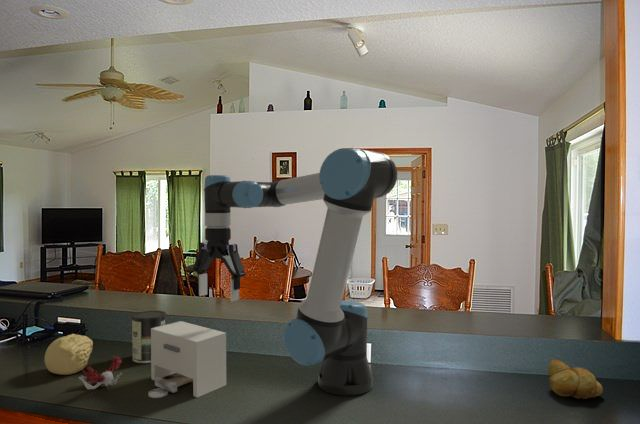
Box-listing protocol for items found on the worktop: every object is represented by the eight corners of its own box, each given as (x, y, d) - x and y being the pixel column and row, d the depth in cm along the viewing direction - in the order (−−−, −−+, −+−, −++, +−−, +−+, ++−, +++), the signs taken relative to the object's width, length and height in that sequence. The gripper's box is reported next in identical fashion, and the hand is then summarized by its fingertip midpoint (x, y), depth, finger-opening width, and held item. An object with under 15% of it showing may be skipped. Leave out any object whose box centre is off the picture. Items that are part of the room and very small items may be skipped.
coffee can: (172, 353, 154) (172, 311, 154) (155, 364, 144) (154, 319, 144) (144, 351, 156) (143, 309, 156) (125, 362, 146) (124, 317, 146)
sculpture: (73, 380, 132) (73, 342, 132) (35, 377, 134) (35, 339, 134) (99, 365, 143) (98, 330, 143) (63, 363, 145) (63, 328, 145)
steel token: (168, 390, 126) (168, 386, 126) (168, 398, 121) (168, 394, 121) (148, 392, 124) (148, 389, 124) (148, 400, 120) (148, 396, 120)
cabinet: (226, 385, 129) (226, 332, 128) (194, 398, 120) (194, 342, 120) (180, 368, 141) (180, 320, 140) (148, 380, 132) (148, 329, 131)
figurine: (96, 374, 136) (96, 352, 136) (134, 376, 135) (134, 353, 135) (62, 396, 121) (62, 371, 121) (105, 399, 120) (105, 373, 120)
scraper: (225, 373, 137) (226, 339, 137) (173, 392, 122) (173, 354, 122) (207, 367, 142) (208, 334, 142) (154, 385, 127) (155, 348, 127)
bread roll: (600, 391, 126) (600, 362, 125) (607, 406, 117) (607, 374, 116) (546, 384, 130) (547, 355, 130) (549, 398, 121) (550, 367, 121)
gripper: (257, 227, 136) (258, 300, 136) (199, 225, 150) (200, 291, 151) (238, 229, 130) (239, 305, 130) (180, 226, 144) (181, 295, 145)
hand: (218, 297), depth 140 cm, fingers open, 13 cm apart
